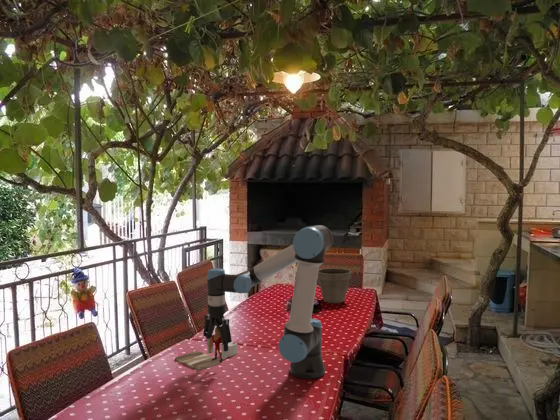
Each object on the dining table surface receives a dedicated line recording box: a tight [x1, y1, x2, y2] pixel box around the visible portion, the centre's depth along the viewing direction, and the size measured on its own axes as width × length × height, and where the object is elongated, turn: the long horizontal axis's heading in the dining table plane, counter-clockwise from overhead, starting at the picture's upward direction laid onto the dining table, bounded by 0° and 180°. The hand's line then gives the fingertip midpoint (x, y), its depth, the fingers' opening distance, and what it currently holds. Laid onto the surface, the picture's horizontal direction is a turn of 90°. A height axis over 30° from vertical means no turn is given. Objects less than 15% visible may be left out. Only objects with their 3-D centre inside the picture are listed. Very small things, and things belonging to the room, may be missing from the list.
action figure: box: [208, 326, 224, 363], centre depth 194 cm, size 9×4×15 cm, turn 61°
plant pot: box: [317, 267, 352, 304], centre depth 316 cm, size 25×25×22 cm
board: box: [174, 350, 223, 372], centre depth 203 cm, size 18×13×1 cm
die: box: [228, 341, 239, 358], centre depth 212 cm, size 5×5×6 cm
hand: (217, 355), depth 194 cm, fingers closed on action figure, 9 cm apart
